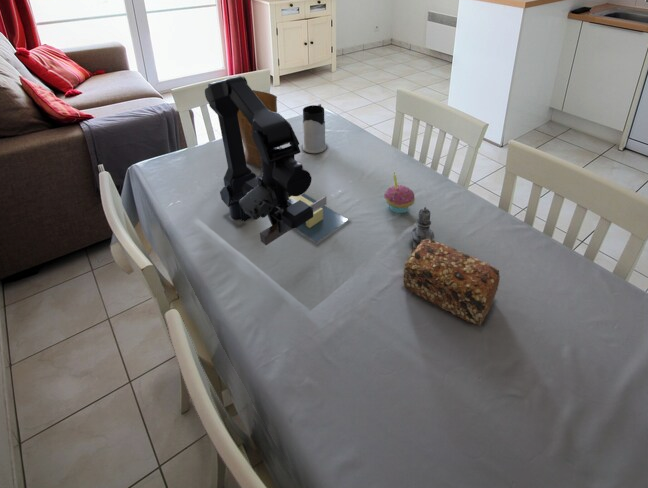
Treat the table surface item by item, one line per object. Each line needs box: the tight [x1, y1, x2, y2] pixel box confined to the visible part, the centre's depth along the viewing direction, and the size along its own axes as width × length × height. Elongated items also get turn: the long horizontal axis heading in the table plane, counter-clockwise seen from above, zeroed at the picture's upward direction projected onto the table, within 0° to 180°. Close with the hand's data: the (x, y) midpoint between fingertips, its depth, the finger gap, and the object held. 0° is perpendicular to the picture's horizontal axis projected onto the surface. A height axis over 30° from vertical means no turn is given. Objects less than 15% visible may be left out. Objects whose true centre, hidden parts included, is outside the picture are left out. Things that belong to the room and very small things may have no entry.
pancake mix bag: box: [238, 89, 278, 170], centre depth 139 cm, size 7×19×28 cm, turn 58°
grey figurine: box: [410, 206, 435, 250], centre depth 108 cm, size 6×6×12 cm
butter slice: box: [306, 208, 323, 228], centre depth 115 cm, size 2×5×4 cm, turn 139°
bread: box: [403, 239, 501, 327], centre depth 94 cm, size 19×11×10 cm, turn 54°
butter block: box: [289, 195, 313, 206], centre depth 119 cm, size 8×5×4 cm, turn 49°
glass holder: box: [302, 103, 328, 154], centre depth 156 cm, size 9×14×15 cm, turn 170°
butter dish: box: [295, 193, 349, 243], centre depth 119 cm, size 18×12×1 cm, turn 49°
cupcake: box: [384, 172, 416, 214], centre depth 121 cm, size 9×8×12 cm
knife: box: [259, 195, 328, 246], centre depth 104 cm, size 2×20×2 cm, turn 138°
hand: (278, 229), depth 100 cm, fingers closed on knife, 2 cm apart
